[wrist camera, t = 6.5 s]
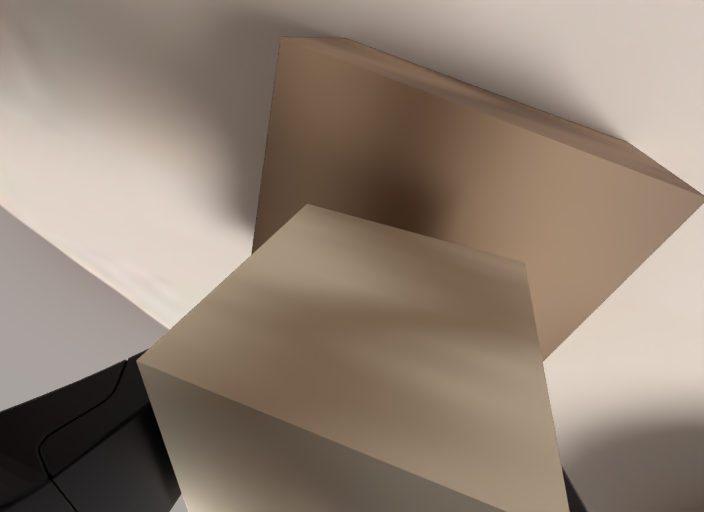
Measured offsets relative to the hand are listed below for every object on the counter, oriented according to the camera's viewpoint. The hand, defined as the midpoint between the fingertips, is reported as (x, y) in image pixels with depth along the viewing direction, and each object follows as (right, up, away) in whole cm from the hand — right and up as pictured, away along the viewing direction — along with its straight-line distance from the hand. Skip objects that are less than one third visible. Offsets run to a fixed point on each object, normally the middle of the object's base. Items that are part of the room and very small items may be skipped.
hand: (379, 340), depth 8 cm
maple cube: (0, 0, +1) cm, 1 cm away
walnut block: (+2, +4, +6) cm, 8 cm away
